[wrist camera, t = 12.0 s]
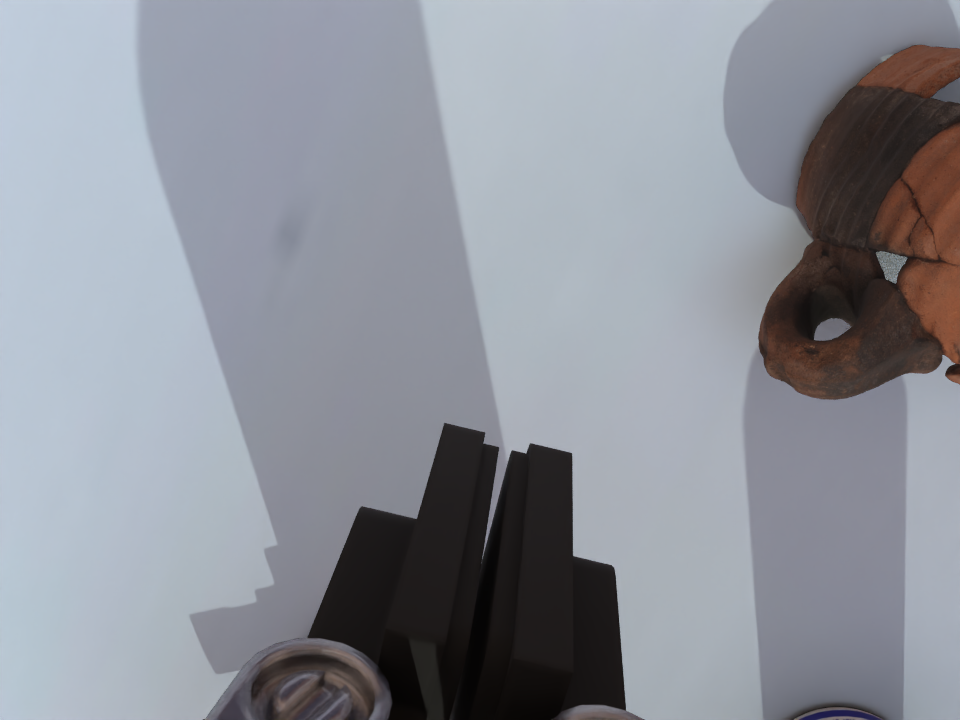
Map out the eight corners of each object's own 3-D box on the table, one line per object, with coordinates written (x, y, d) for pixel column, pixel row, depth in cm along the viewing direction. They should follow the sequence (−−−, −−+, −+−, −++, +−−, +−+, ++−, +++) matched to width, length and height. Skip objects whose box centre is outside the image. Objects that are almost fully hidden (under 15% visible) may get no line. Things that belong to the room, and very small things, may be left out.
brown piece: (993, -58, 24) (1313, 33, 18) (1023, 177, 31) (1266, 302, 25) (644, 219, 25) (838, 392, 19) (743, 391, 32) (912, 562, 26)
